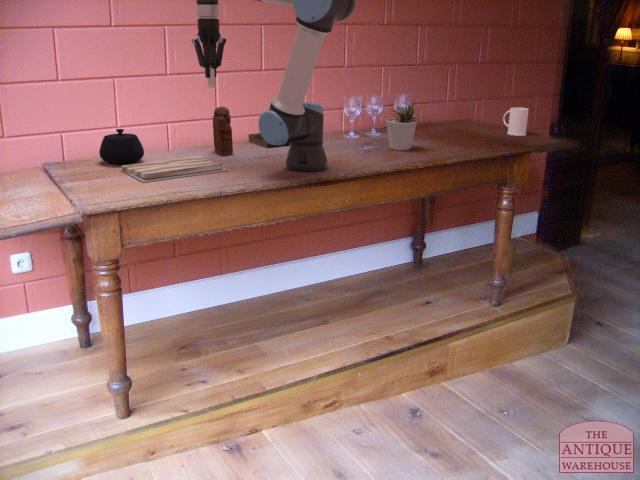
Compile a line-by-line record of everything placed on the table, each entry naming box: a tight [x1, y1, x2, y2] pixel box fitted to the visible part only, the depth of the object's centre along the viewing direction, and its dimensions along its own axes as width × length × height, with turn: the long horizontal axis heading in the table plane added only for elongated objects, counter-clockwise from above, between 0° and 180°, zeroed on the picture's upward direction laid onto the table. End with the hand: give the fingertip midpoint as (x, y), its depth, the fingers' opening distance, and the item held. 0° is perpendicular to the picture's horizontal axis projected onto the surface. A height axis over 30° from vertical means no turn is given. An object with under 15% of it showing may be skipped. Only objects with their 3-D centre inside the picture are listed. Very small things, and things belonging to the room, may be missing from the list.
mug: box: [502, 106, 529, 137], centre depth 307 cm, size 12×8×12 cm
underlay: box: [120, 167, 229, 184], centre depth 229 cm, size 20×31×1 cm, turn 126°
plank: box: [133, 159, 223, 179], centre depth 226 cm, size 11×28×2 cm, turn 126°
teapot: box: [98, 128, 145, 166], centre depth 238 cm, size 25×16×12 cm, turn 34°
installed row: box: [121, 155, 210, 174], centre depth 234 cm, size 7×30×1 cm, turn 126°
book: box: [247, 132, 290, 149], centre depth 282 cm, size 17×4×25 cm
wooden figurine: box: [212, 106, 234, 157], centre depth 256 cm, size 12×6×18 cm, turn 25°
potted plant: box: [385, 100, 420, 152], centre depth 268 cm, size 13×14×20 cm
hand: (211, 87), depth 237 cm, fingers closed
